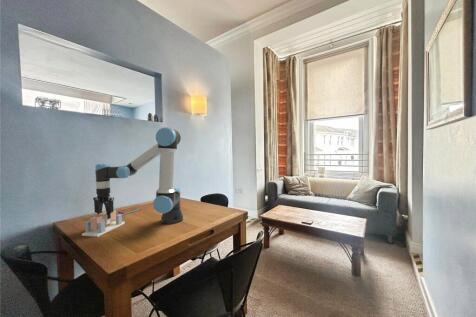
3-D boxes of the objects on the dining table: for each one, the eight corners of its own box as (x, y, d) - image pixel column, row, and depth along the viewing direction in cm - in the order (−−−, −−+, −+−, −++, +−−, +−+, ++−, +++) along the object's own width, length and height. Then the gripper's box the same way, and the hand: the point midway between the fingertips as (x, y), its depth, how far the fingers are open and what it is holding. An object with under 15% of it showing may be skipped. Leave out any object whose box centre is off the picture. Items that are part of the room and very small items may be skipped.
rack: (124, 223, 140) (124, 213, 140) (97, 236, 118) (97, 224, 118) (111, 222, 142) (110, 212, 142) (81, 235, 120) (81, 223, 120)
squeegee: (133, 207, 178) (140, 208, 173) (133, 209, 178) (140, 210, 173) (98, 217, 152) (106, 219, 147) (98, 219, 152) (106, 221, 148)
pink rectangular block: (116, 219, 139) (116, 209, 139) (97, 229, 121) (96, 218, 121) (110, 219, 139) (110, 209, 139) (90, 229, 121) (90, 218, 121)
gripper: (119, 186, 131) (120, 222, 132) (96, 186, 134) (97, 220, 135) (110, 189, 124) (111, 226, 125) (86, 188, 127) (87, 224, 128)
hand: (104, 223), depth 130 cm, fingers closed on pink rectangular block, 4 cm apart
